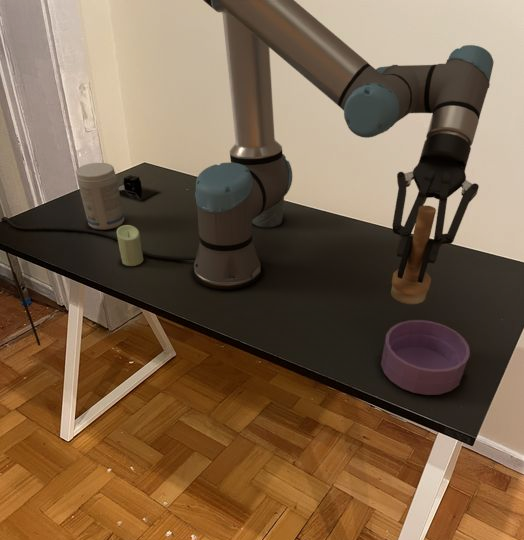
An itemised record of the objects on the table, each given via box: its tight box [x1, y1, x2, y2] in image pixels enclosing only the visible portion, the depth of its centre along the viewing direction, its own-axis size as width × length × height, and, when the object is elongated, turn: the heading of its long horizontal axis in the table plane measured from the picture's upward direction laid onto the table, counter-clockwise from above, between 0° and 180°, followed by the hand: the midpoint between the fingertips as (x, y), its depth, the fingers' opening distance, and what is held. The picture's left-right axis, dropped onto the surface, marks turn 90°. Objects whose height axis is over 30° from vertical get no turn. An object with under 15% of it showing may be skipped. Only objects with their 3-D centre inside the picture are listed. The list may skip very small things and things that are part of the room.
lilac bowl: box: [380, 319, 471, 396], centre depth 92 cm, size 14×14×6 cm
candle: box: [116, 224, 144, 267], centre depth 121 cm, size 5×5×8 cm
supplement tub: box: [75, 162, 125, 231], centre depth 135 cm, size 10×10×15 cm
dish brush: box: [390, 204, 437, 305], centre depth 86 cm, size 6×6×16 cm
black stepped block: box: [118, 174, 158, 202], centre depth 154 cm, size 12×7×5 cm, turn 60°
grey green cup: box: [252, 196, 285, 228], centre depth 137 cm, size 10×10×12 cm
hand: (410, 277), depth 85 cm, fingers closed on dish brush, 3 cm apart
